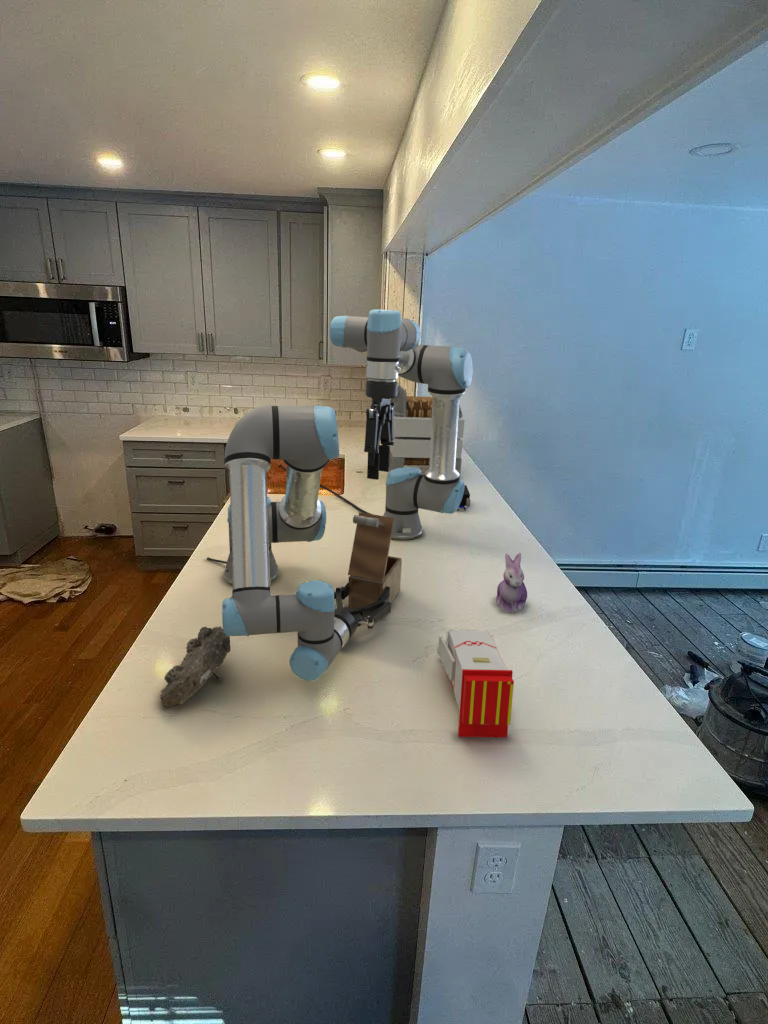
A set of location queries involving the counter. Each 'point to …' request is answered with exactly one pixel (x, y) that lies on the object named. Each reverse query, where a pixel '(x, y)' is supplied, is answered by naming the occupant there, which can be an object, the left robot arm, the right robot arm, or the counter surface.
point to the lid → (371, 546)
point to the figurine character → (465, 499)
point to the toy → (478, 682)
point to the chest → (375, 585)
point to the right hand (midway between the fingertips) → (378, 474)
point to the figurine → (512, 586)
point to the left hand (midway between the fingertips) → (370, 587)
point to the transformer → (416, 432)
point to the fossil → (196, 665)
